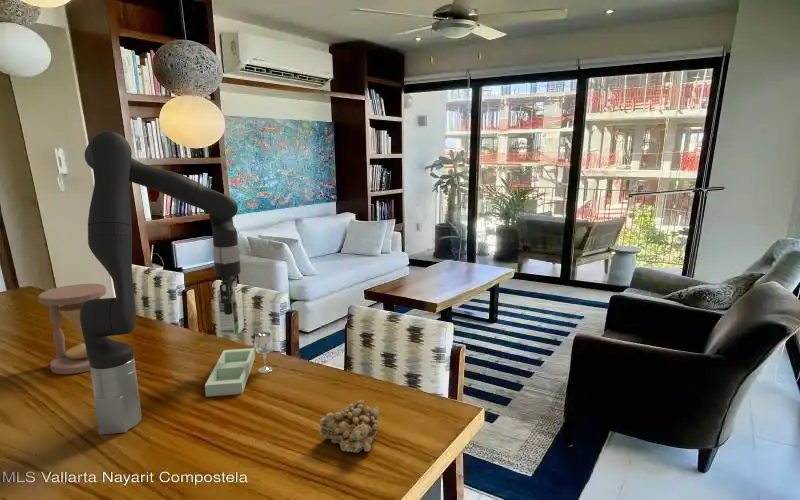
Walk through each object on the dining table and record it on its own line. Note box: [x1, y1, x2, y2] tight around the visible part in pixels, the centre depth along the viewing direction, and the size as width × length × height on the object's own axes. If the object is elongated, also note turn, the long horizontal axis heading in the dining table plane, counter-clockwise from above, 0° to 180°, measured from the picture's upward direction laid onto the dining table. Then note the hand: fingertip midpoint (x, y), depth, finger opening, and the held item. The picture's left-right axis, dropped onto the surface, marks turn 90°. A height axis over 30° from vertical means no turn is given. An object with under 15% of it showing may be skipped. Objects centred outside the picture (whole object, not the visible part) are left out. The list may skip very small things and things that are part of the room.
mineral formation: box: [318, 399, 380, 454], centre depth 104 cm, size 8×13×15 cm
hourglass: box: [37, 283, 107, 375], centre depth 142 cm, size 18×18×25 cm
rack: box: [204, 347, 256, 397], centre depth 135 cm, size 24×10×4 cm, turn 10°
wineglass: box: [253, 331, 274, 374], centre depth 138 cm, size 6×6×12 cm
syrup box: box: [217, 286, 245, 336], centre depth 138 cm, size 6×6×14 cm
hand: (230, 310), depth 138 cm, fingers closed on syrup box, 6 cm apart
